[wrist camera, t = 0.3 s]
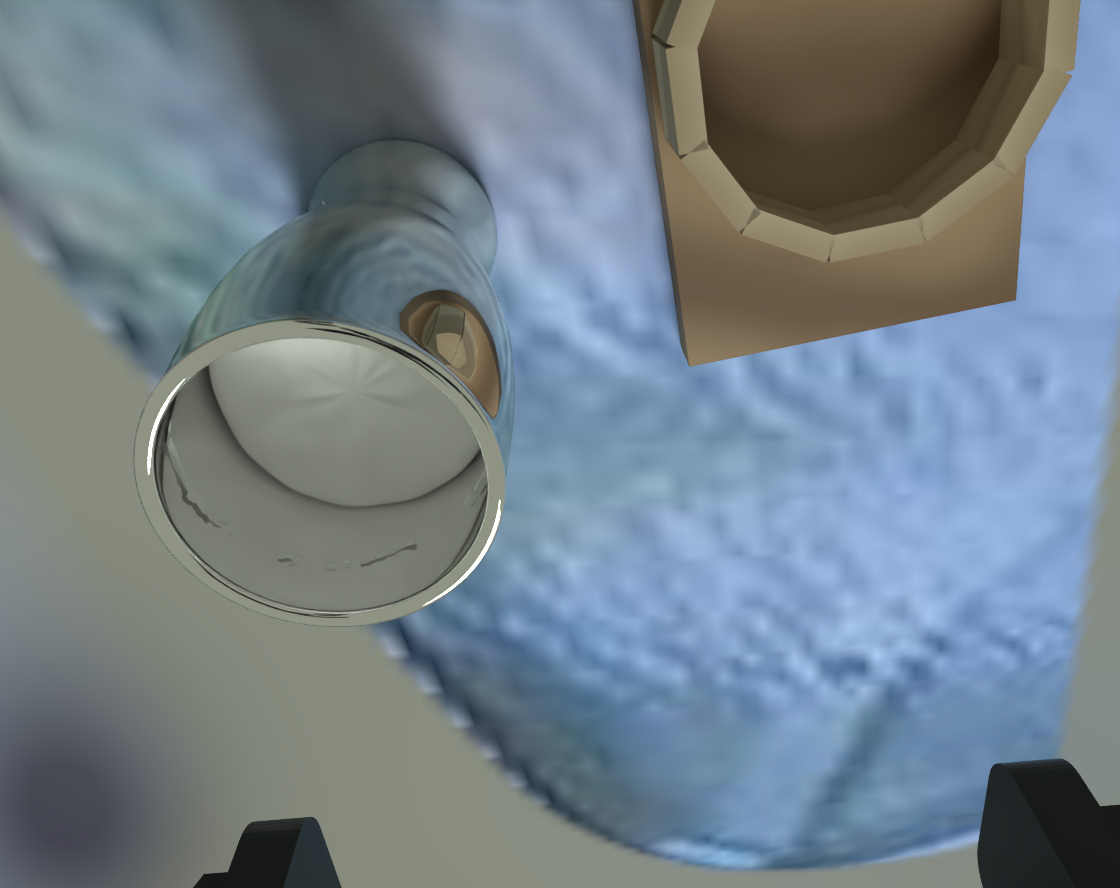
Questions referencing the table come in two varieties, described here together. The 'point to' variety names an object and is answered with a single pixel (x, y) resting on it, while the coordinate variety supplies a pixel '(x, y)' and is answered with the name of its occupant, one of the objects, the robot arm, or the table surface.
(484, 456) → the beer glass
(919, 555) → the table surface
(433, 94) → the table surface
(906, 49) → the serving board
